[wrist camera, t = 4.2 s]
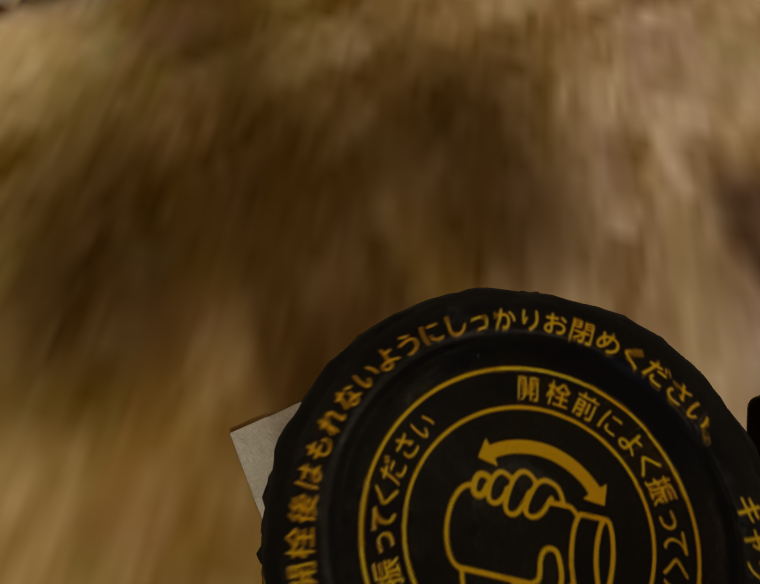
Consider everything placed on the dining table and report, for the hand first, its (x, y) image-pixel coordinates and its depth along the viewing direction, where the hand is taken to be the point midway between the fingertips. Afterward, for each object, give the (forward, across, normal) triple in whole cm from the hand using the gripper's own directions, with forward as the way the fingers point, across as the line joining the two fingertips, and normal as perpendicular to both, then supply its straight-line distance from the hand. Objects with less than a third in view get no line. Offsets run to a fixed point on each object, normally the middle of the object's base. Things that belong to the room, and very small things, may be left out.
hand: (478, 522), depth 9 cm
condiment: (+7, 0, +6) cm, 9 cm away
